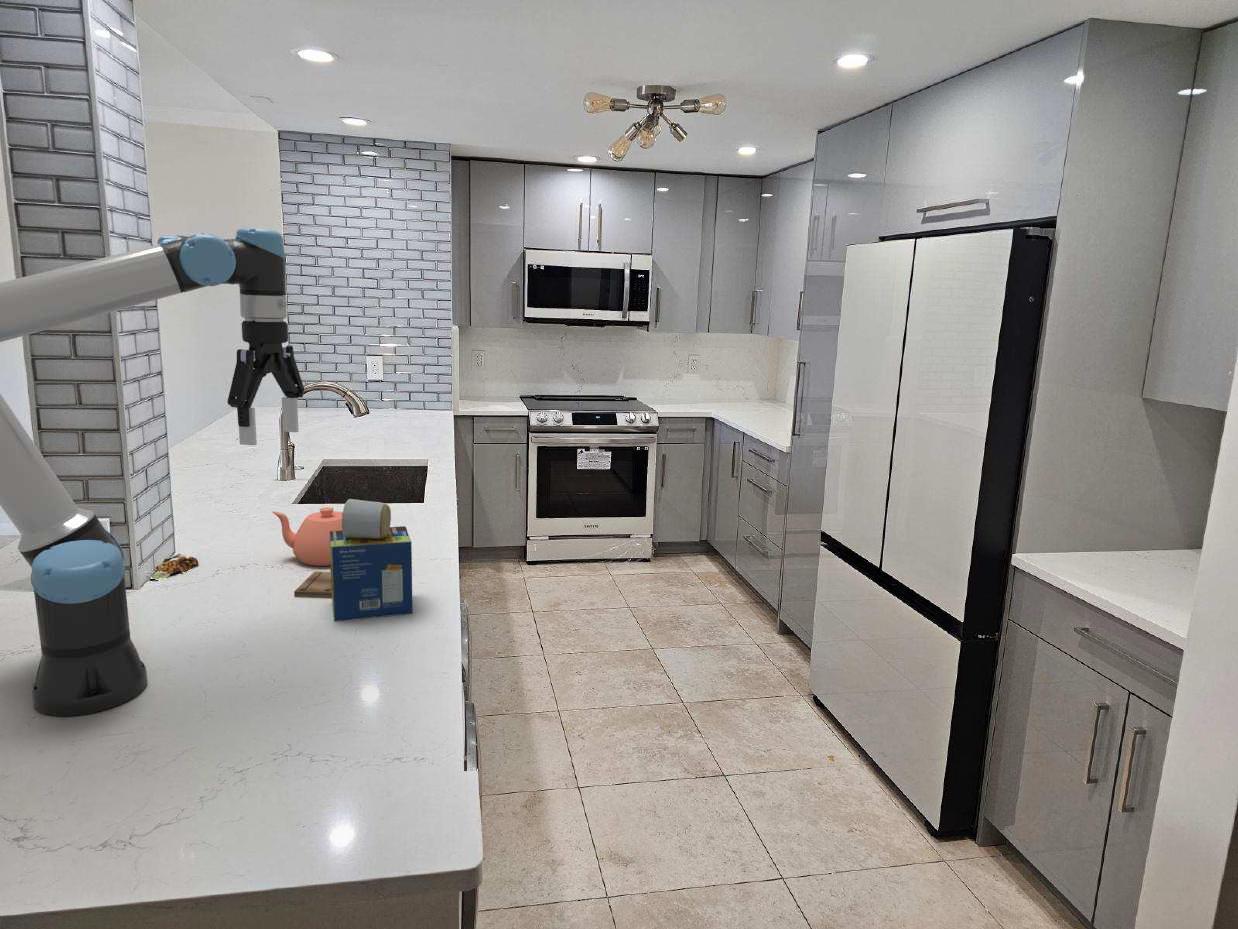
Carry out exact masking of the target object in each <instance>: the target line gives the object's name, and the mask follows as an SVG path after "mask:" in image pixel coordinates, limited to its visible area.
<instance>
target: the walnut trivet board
mask: <svg viewBox="0 0 1238 929" xmlns="http://www.w3.org/2000/svg"><path fill="white" fill-rule="evenodd" d="M293 593H294V594H293V596H294V598H313V599H314V598H316V599H317V598H318V599H319V598H320V599H321V598H322V599H332V589H331V571H313V572H312V573H311V574H310V575H309V576H308V577H307V578H306V579H305V580H304V581H303V582H302V583H301V584H300V585H299V586H298V587H297V588H296V589H295V590H294V591H293Z"/></svg>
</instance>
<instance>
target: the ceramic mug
mask: <svg viewBox="0 0 1238 929" xmlns="http://www.w3.org/2000/svg"><path fill="white" fill-rule="evenodd" d="M342 512H343V513H342V533H343V535H344V537H345V538H369V539H380V538H384V537H386V536H387V534H388V532H389V528H390V527H391V520H392V518H391V517H392V513H391V508H390V506H389V505H388V504H387V503H384V502H380V501H370V500H361V499H353V498H349V499H347V500H346V502H345V503H344V506H343V510H342Z"/></svg>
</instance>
